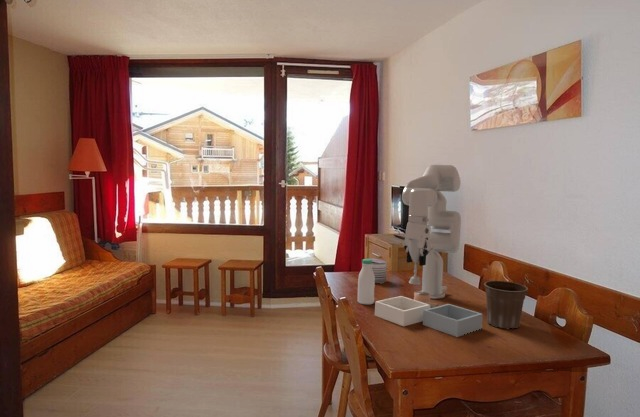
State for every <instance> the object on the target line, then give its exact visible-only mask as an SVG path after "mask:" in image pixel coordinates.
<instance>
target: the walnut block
mask: <svg viewBox="0 0 640 417" xmlns="http://www.w3.org/2000/svg"><path fill="white" fill-rule="evenodd" d="M426 304H429V305H430V308H434V307H438V306H439V303H435V302H431V301H430V302H426Z"/></svg>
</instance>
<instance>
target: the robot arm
mask: <svg viewBox="0 0 640 417" xmlns="http://www.w3.org/2000/svg"><path fill="white" fill-rule="evenodd" d="M458 171H459V170H458V169H457V168H456V167H455V166H454V165H452V164H431V165H429V166H427V167H426V169H425V171H424V173H423V174H422V176H420V177H418V178H415V179H413V180H410V181H409V182H408V183H406V185H405V186H404V188H403V190H402V194H401V201H402V203H403V204H404V205H406V206H408V219H407V220H408V222H407V224H406V229H405V234H404V239H403V240H402V241H401V244H402V246H403V248H404V250H405V253H406V263H407V264H408V263H413V262H414V261H412V258H411V256H410V252H409V243H410V241H409V240H415V241H418V243H417V246H418V248H419V249H420V254H421V256H420V257H419V262H418V265H419V266H420V267H421V266H422V276H421V277H422V278H421V290H419V291H418V292H427V293H430V299H436V300H437V299H444V298H445V296H446V294H445V293H444V291H447V289H448V287H447V286H446V285H444V286H443V273H444V260H443V257H442V255H441V254H440V253H448V254H455V253H458V252H459V250H460V242H461V241H460V240H461V228H462V217H461V214H460V212H458V211H456V210H447V199H446V197H445V195H444V194H443V193H442V192H448V193H449V192H451V193H455V192H457V191H458V190H460V188H461V177H460V175H459V172H458ZM431 229H432V230H440V231H431ZM441 231H449V232H441ZM423 250H424V252H423Z"/></svg>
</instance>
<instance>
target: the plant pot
mask: <svg viewBox="0 0 640 417" xmlns="http://www.w3.org/2000/svg"><path fill="white" fill-rule="evenodd" d="M483 285H484V287H485V294H486V319H487V320H486V322H487V324H488V325H491V326H492V327H494V326H495V327H494V328H497V327H500V328H499V329H501V328H512V329H514V328H517V327H519V328H520V325H521V318H522V311H523V307H524V301H525V299H526V295H527V292H528V290H529V288H528V287H527V286H526V285H523V284H521V283H516V282H512V281H508V280H506V281H504V280H489V281H485V282H484V284H483ZM517 329H518V328H517Z"/></svg>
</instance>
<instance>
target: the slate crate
mask: <svg viewBox="0 0 640 417" xmlns="http://www.w3.org/2000/svg"><path fill="white" fill-rule="evenodd" d="M483 314H484V313H481V312H477V311H476V310H471V309H468V308H465V307H461V306H459V305H458V306H457V305H454V304H452V303H451V304H450V303H446V304H443V305H438V307H434V308H430V309H426V310H424V311H423V321H422V326H425V327H427V328H430V329H433V330H436V331H439V332H441V333H445V334H448V335H449V336H453V337H456V338H458V337H459V338H460V337H461V336H465V335H467V333H468V334H470V332H471V333H473V331H474V332H476V330H477V331H479V329H480V330H482V329H483ZM481 328H482V329H481ZM464 334H465V335H464Z"/></svg>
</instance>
